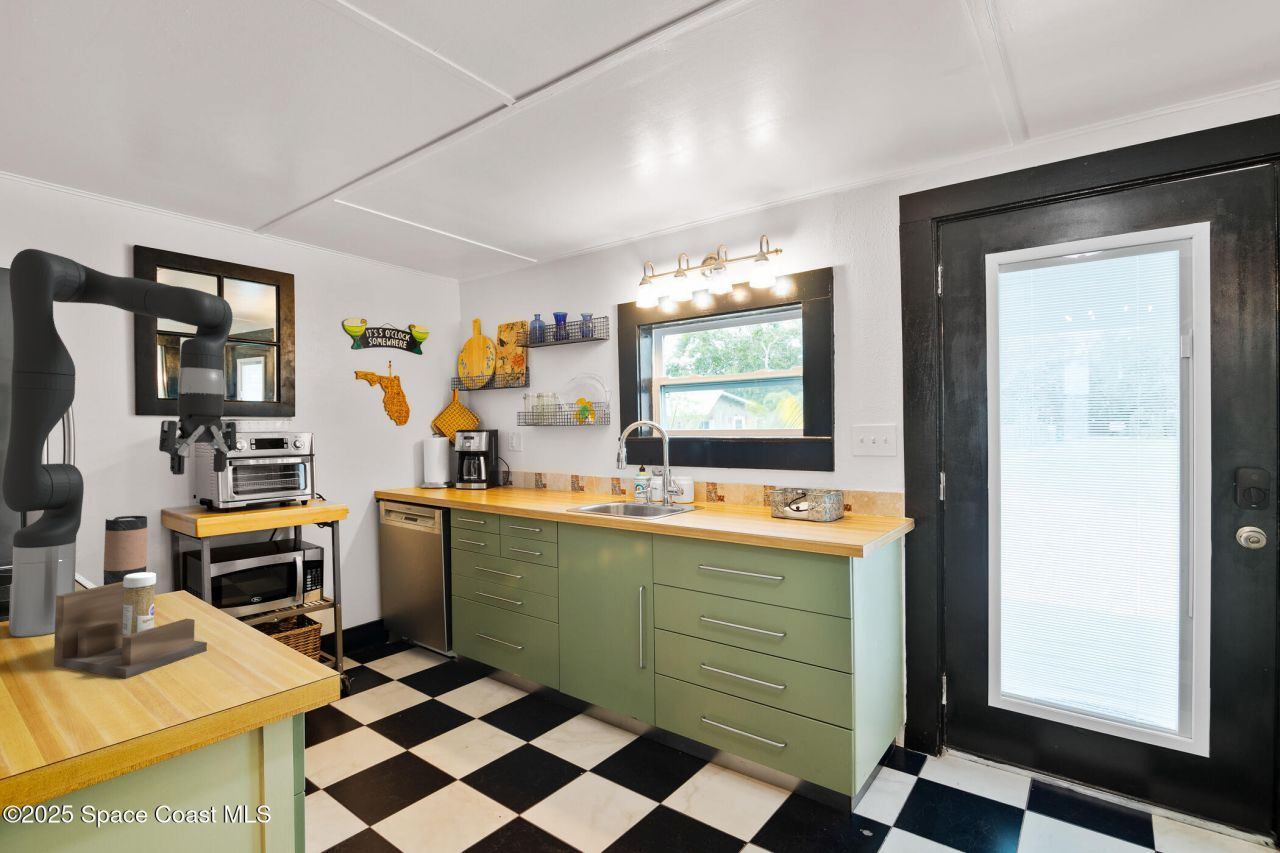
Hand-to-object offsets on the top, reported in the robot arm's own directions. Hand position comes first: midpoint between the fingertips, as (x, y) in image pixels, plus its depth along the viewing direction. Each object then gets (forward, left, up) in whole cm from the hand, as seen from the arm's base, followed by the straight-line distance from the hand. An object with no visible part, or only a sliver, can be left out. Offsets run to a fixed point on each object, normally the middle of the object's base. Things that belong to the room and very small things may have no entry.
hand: (199, 473), depth 125 cm
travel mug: (-34, +10, -32) cm, 48 cm away
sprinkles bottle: (+3, -13, -31) cm, 34 cm away
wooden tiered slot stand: (+3, -13, -32) cm, 35 cm away
